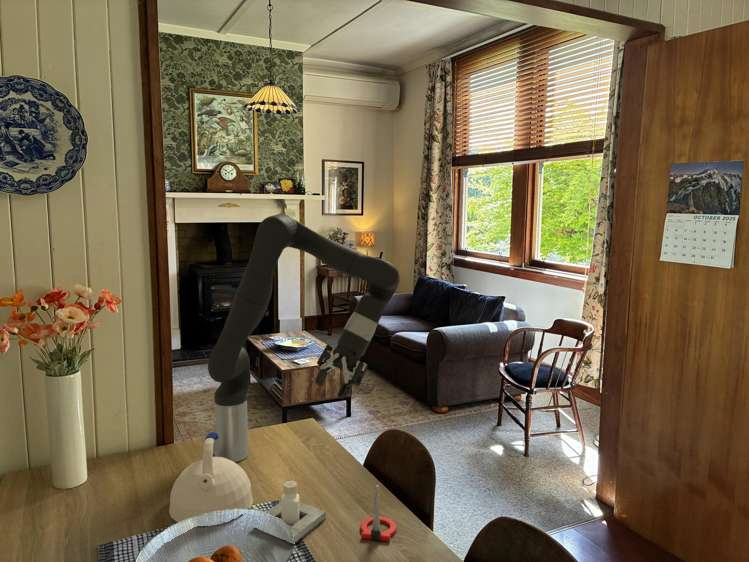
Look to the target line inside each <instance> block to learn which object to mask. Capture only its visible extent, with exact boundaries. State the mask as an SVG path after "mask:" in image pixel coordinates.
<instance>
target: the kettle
mask: <svg viewBox="0 0 749 562" xmlns="http://www.w3.org/2000/svg"><path fill="white" fill-rule="evenodd" d="M218 438H219V437H218V434H217V433H215V432H213V431H211V432H209V433H207V435H206V436H205V438H204V443H203V446H202V447H203V449H202V459H198V460H196V461H194V462H192V463H191V464H189V465H188V466H187V467H186V468H185V469H184V470H182V472H181V473H180V474H179V475H178V477H177V478H176V480H175V481H174V483H173V486H172V488H171V491H170V496H169V497H170V499H169V510H168V513H169V515H170V518H171V519H172V520H174V521H175V522H176V523H178V522H177V521H180V520H183V519H186V518H189V517H192V516H196V515H200V514H203V513H207V512H210V511H216V510H224V509H234V508H249V509H250V508H251V507H252V505H253V502H254V499H253V493H252V486H251V481H250V478H249V477H248V474H247V473H246V472H245V470H244V469H243V468H242V467H241V466H240V465H239V464H238V463H237V462H233V461H231V460H228V459H226V458H223V457H216V456H215V454H214V440H217V439H218Z"/></svg>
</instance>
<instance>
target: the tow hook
mask: <svg viewBox="0 0 749 562" xmlns="http://www.w3.org/2000/svg"><path fill="white" fill-rule="evenodd" d="M374 489H375V491H374V495H373V496H374V497H373V498H374V499H373V503H374V505H373V516H371V517H370V516H369V517H367V518H365V519H363V520H362V522H361V523H360V531H361V537H360V538H361V540H368V541H374V542H375V541H376V542H388V543H390V542H391V539H392V536H394V534H396V532H397V528H398V527H397V523H396V522H395V521H394V520H392V519H391V518H389V517H384V516H380V499H381V498H380V494H379V493H380V491H379V489H380V486H379V485H377V484H375V488H374ZM381 522H382V523H381ZM370 524H372V527H371V529H369V528H368V526H370ZM381 524H385V525H387V526H388V527H389V528H388V529H387V530H384V531H382V528H381V527H380V526H381Z"/></svg>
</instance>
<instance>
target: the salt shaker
mask: <svg viewBox="0 0 749 562" xmlns="http://www.w3.org/2000/svg"><path fill="white" fill-rule="evenodd" d="M282 490H283V494H282V495H281V501H280V502H281V506H282V520H283V521H284V522H285V523H287V524H288V525H294V524H295V523H297V522H298V521H299V502H300V494H299V493H297V492H298V483H297V482H296V481H295V480H289V481H288V480H287V481H286V482H284V483H283V489H282Z"/></svg>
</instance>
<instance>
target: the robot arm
mask: <svg viewBox="0 0 749 562" xmlns="http://www.w3.org/2000/svg"><path fill="white" fill-rule="evenodd" d="M253 242H254V243H253V245H252V246H253V247H252V251H251V252H250V253H251V255H250V257H249V261H248V263H247V265H246V267H245V269H244V273H243V276H242V278H241V281H240V283H239V285H238V288H237V291H236V293H235V296H234V298H233V300H232V301H233V302H232V304H231V307H230V310H229V313H228V316H227V317H226V321H225V323H224V326H223V329H222V331H221V333H220V336H219V337H218V339H217V342H216V344H215V346H214V347H213V349H212V352H211V353H210V356H209V358H208V360H207V371H208V374H209V376H210V378H211V379H212V380H213V381H215V382H217V383H220V384H219V386H218V387H217V389H215V392H214V399H213V400H214V419H215V420H214V422H215V423H214V424H213V426H212V432H215V433H217V434H218V437H219V438H218V439H217V440H214V443H213V453H214V454H215V457H223V458H226V459H228V460H231V461H233V462H235V463H237V462H241V461H243V460H245V459H246V458H247V457H249V436H248V435H249V432H248V430H249V429H248V428H249V427H248V393H249V390H250V383H251V382H250V378H251V377H250V376H251V364H250V361H251V360H250V356H249V354H248V352H247V350H246V349H245V348H244V345H245V342H246V341H247V340H248V338H249V337H250V335H251V334H252V333H253V332H254V331H255V329H256V328H257V326H258V325H259V324H260V322H261V321H262V319H263V317H264V315H265V313H266V310H267V309H268V306H269V303H270V300H271V298H272V293H273V281H274V279H273V278H274V272H275V268H276V266H277V263H278V261H279V259H280V257H281V255H282V253H283V251H284V249H286V248H292V249H295V250H299V251H302V252H305V253H306V254H309V255H311V256H313V257H315V258H316V259H317V260H319V261H320V262H321V263H323V264H324V265H325V266H328V267H329V268H331V269H332V270H334V271H337V272H338V273H341V274H343V275H347V276H349V277H350V278H354V279H360V280H363V281H365V282H367V283H370V284H369V286H368V288H367V290H366V292H365V293H364V294H363V295H362V296H361V297H360V299H359V301H358V303H357V305H356V307H355V309H354V311H353V312H352V314H351V315H350V317H349V318H348V320H347V322H346V324H345V326H344V328H343V330H342V332H341V333H340V336H339V338H338V340H337V341H336V342H337V343H336V344H337V346H336V347H335V346H334V345H333V346H332V345H330V344H328V343H327V344H326V345H325V347H324V349H323V351H322V353H321V354H320V356H319V358H318V360H317V361H316V364H317V365H318V366H319V369H320V370H319V371H318V374H317V376H316V377H315V384H316V385H318V386H322V385H324V383H325V380H326V379H327V376H328V374H329V372H330V371H332V370H333V369H339V370H340V371H341V372H342V374H343V376H344V382H342V384H341V385H340V388H339V389H338V392H337V394H336V397H337V398H340V399H342V400H344V399H345V398H346V397H347V396H348V394H349V392H350V390H351V388H352V386H353V387H354V386H355V387H359V386H360V385H361V384H362V380H363V378H364V376H365V374H366V371H367V369H368V367H369V366H368V364H367V362H366V363H365V362H363V361H360V360H361V358H362V357H363V356H364V355H365V353H366V351H367V348H368V347H369V344H370V343H371V342H372V341H371V340H372V338H373V337H374V335H375V332H376V329H377V327H378V324H379V322H380V320H381V318H382V316H383V314H384V312H385V310H386V306H388V304H389V302H390V300H391V299H392V297H393V295H394V294H395V292H396V291H397V289H398V286H399V284H400V280H401V279H400V274H399V273H400V272H399V270H398V267H397V266H395V265H394V264H393V263H391V262H390V261H387V260H384V259H382V258H377V257H375V256H370V255H367V254H365V253H363V252H361V251H359V250H356V249H354V248H351V247H349V246H347V245H345V244H342V243H339V242H338V241H335V240H333V239H331V238H328V237H327V236H326V237H325V236H324V235H322V234H320V233H318V232H316V231H315V230H313V229H311V228H309V226H306V225H304V224H303V223H301V222H300V221H298V220H297V219H295V218H293V217H291V216H290V215H289V214H285V213H284V214H283V213H278V214H274V215H273V214H272V215H270V216H267V217H266V218H264V219H263V220H261V222H260V224H259V225H258V228H257V230H256V234H255V238H254V241H253ZM355 368H356V369H355Z"/></svg>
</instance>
